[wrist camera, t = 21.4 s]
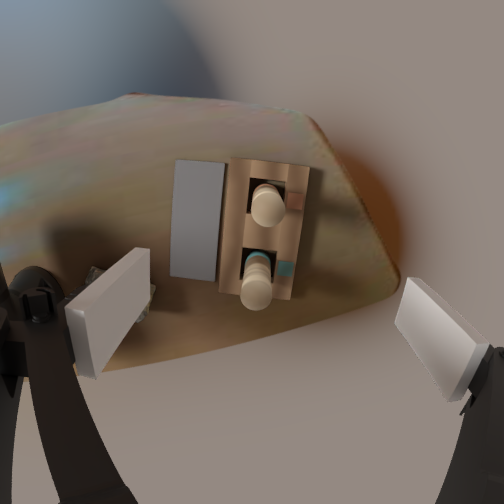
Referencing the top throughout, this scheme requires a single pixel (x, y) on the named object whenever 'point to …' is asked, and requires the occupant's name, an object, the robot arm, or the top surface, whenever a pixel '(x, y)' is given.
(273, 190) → the peg
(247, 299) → the peg
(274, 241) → the socket board
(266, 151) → the top surface
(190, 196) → the mat
